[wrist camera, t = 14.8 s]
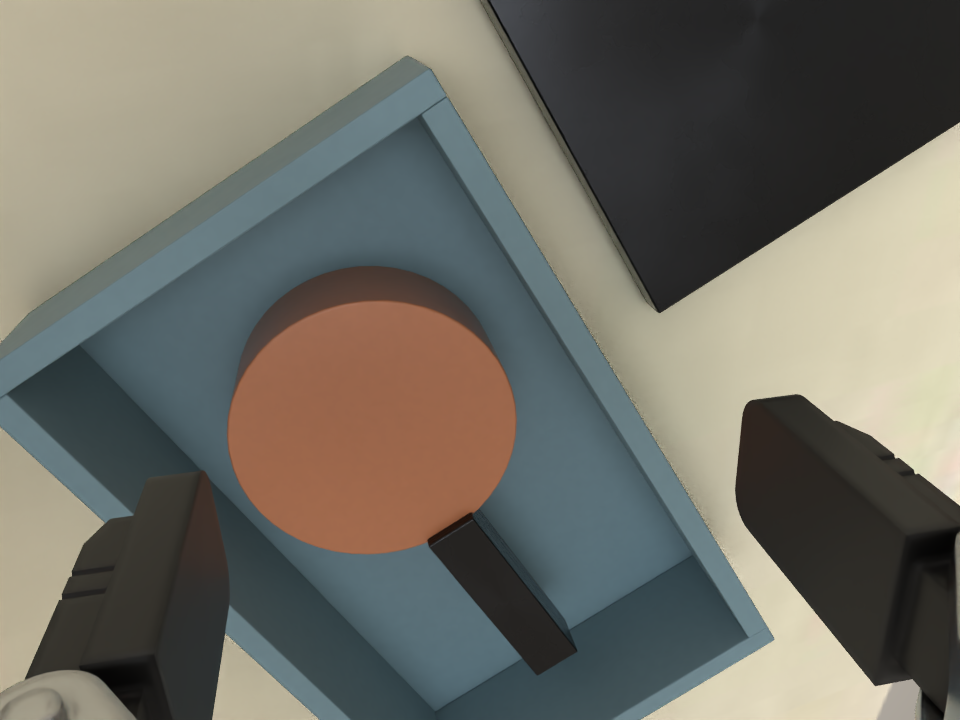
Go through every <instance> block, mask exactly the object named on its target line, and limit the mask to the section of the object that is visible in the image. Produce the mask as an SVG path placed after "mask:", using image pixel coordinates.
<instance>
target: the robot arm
mask: <svg viewBox="0 0 960 720" xmlns="http://www.w3.org/2000/svg"><path fill="white" fill-rule="evenodd" d="M735 493H736V502H737V507H738V510H739V513H740V516H741V518H742V521H743V523H744V524H745V526H746V528H747V529H748V530H749V531H750V533H751V534H752V535H753V536H754V538H755V539H756V540H757V541H758V543H759V544H760V545H761V546H762V547H763V549H764V550H765V551H766V552H767V554H768V555H769V556H770V557H771V559H772V560H773V561H774V562H775V563H776V565H777V566H778V567H779V568H780V570H781V571H782V572H783V573H784V575H785V576H786V577H787V578H788V579H789V581H790V582H791V583H792V584H793V586H794V587H795V588H796V589H797V591H798V592H799V593H800V594H801V595H802V597H803V598H804V599H805V600H806V602H807V603H808V604H809V605H810V607H811V608H812V609H813V610H814V611H815V613H816V614H817V615H818V616H819V618H820V619H821V620H822V621H823V623H824V624H825V625H826V626H827V627H828V629H829V630H830V631H831V632H832V634H833V635H834V636H835V637H836V639H837V640H838V641H839V642H840V643H841V645H842V646H843V647H844V648H845V650H846V651H847V652H848V653H849V655H850V656H851V657H852V658H853V659H854V661H855V662H856V663H857V664H858V666H859V667H860V668H861V669H862V671H863V672H864V673H865V674H866V675H867V677H868V678H869V679H870V680H871V682H872V683H873V684H874V685H875V686H878V685H884V684H889V683H894V682H899V681H905V680H910V679H913V680H914V681H915V682H916V684H917V685H918V686H919V687H920V690H919V694H918V699H917V703H916V708H915V720H960V506H959V505H958V504H957V503H955V502H954V501H953V500H952V499H950V498H949V497H948V496H947V495H945V494H944V493H943V492H941V491H940V490H939V489H938V488H936V487H935V486H934V485H933V484H931V483H930V482H929V481H927V480H926V479H925V478H924V477H922V476H921V475H920V474H915V473H914V470H913V469H912V468H911V467H910V466H908V465H907V464H906V463H905V462H903V461H902V460H901V459H900V458H896V459H895V457H894V454H893V453H892V452H891V451H889V450H888V449H887V448H886V447H884V446H883V445H882V444H880V443H879V442H878V441H877V440H875V439H874V438H873V437H872V436H870V435H868V434H866V433H863V432H861V431H859V430H857V429H854V428H852V427H850V426H848V425H845V424H843V423H841V422H838V421H833V420H832V419H831V418H829V417H828V416H827V415H826V414H824V413H823V412H822V411H821V410H820V409H818V408H817V407H816V406H815V405H813V404H812V403H811V402H810V401H808V400H807V399H806V398H805V397H803V396H801V395H798V394H795V395H787V396H780V397H772V398H764V399H757V400H751V401H749V402H748V403H747V404H746V406H745V408H744V411H743V416H742V425H741V435H740V445H739V456H738V466H737V476H736V487H735ZM229 601H230V583H229V571H228V564H227V559H226V554H225V549H224V545H223V540H222V535H221V531H220V526H219V521H218V517H217V512H216V508H215V503H214V498H213V494H212V489H211V485H210V481H209V478H208V476H207V474H206V472H205V471H203V470H202V471H194V472H187V473H179V474H171V475H164V476H156V477H150V478H148V479H147V480H146V483H145V485H144V488H143V491H142V493H141V496H140V499H139V502H138V504H137V507H136V510H135V512H134V515H133V516H126V517H119V518H112V519H109V520H108V521H107V522H106V523H105V524H104V525H103V526H102V527H101V528H100V529H99V530H98V531H97V532H96V533H95V534H94V535H93V536H92V537H91V538H90V539H89V540H88V541H87V542H86V543H84V545H83V547H82V549H81V552H80V554H79V556H78V558H77V561H76V563H75V565H74V568H73V570H72V577H69V579H68V581H67V584H66V586H65V588H64V590H63V593H62V600H59V602H58V604H57V606H56V609H55V611H54V613H53V616H52V618H51V620H50V622H49V625H48V627H47V629H46V632H45V634H44V636H43V638H42V641H41V643H40V645H39V648H38V650H37V652H36V654H35V657H34V659H33V661H32V664H31V666H30V668H29V670H28V673H27V675H26V677H25V680H24V681H21V682H19V683H17V684H15V685H13V686H11V687H9V688H7V689H6V690H4V691H3V692H1V693H0V720H212V716H213V709H214V703H215V696H216V690H217V683H218V676H219V670H220V663H221V657H222V650H223V643H224V637H225V630H226V624H227V617H228V610H229Z"/></svg>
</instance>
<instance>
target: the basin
mask: <svg viewBox="0 0 960 720" xmlns="http://www.w3.org/2000/svg"><path fill="white" fill-rule="evenodd" d="M358 266H382V267H391V268H397V269H402V270H406V271H410V272H413V273H416V274H419V275H421V276H424V277H426V278H429V279H431V280H433V281H434V282H436V283H438V284H440V285H442V286H444V287H445V288H446V289H448V290H449V291H451V292H452V293H453V294H455V295H456V296H457V297H458V298H459V299H460V300H461V301H462V302H463V303H465V304H466V305H467V306H468V307H469V309H470V310H471V311H472V312H473V314H474V315H475V316H476V318H477V319H478V320H479V322H480V324H481V325H482V327H483V329H484V331H485V332H486V334H487V336H488V338H489V340H490V342H491V344H492V346H493V348H494V350H495V352H496V354H497V356H498V358H499V360H500V362H501V364H502V366H503V368H504V370H505V372H506V375H507V377H508V380H509V382H510V385H511V387H512V391H513V395H514V399H515V404H516V416H517V426H516V438H515V443H514V447H513V452H512V455H511V458H510V461H509V463H508V466H507V469H506V471H505V472H504V474H503V476H502V478H501V480H500V482H499V484H498V485H497V487H496V488H495V490H494V491H493V492H492V494H491V495H490V497H489V498H488V499H487V500H486V501H485V502H484V503H483V505H482V506H481V507H480V508H479V509H480V510H481V511H482V513H483V514H484V515H485V516H486V518H487V519H488V520H489V522H490V523H491V524H492V525H493V527H494V528H495V529H496V531H497V532H498V533H499V534H500V536H501V537H502V538H503V540H504V541H505V542H506V544H507V545H508V546H509V547H510V549H511V550H512V551H513V553H514V554H515V555H516V556H517V558H518V559H519V560H520V562H521V563H522V564H523V565H524V567H525V568H526V569H527V571H528V572H529V573H530V574H531V576H532V577H533V578H534V580H535V581H536V582H537V583H538V585H539V586H540V587H541V589H542V590H543V591H544V593H545V594H546V595H547V596H548V598H549V599H550V600H551V602H552V603H553V604H554V605H555V607H556V608H557V609H558V611H559V612H560V613H561V614H562V616H563V617H564V618H565V620H566V623H567V625H568V628H569V630H570V633H571V635H572V638H573V641H574V643H575V646H576V648H577V652H576V653H575V654H573V655H571V656H570V657H568V658H566V659H565V660H563V661H561V662H560V663H558V664H557V665H555V666H553V667H552V668H550V669H548V670H547V671H545V672H543V673H542V674H540V675H538V676H537V675H536V674H535V673H534V672H533V670H532V669H531V668H530V667H529V666H528V664H527V663H526V662H525V661H524V660H523V659H522V657H521V656H520V655H519V654H518V653H517V651H516V650H515V649H514V648H513V647H512V645H511V644H510V643H509V642H508V641H507V639H506V638H505V637H504V636H503V635H502V634H501V632H500V631H499V630H498V629H497V628H496V626H495V625H494V624H493V623H492V622H491V620H490V619H489V618H488V617H487V616H486V615H485V613H484V612H483V611H482V610H481V609H480V607H479V606H478V605H477V604H476V603H475V601H474V600H473V599H472V598H471V597H470V596H469V594H468V593H467V592H466V591H465V590H464V588H463V587H462V586H461V585H460V584H459V582H458V581H457V580H456V579H455V578H454V577H453V575H452V574H451V573H450V572H449V571H448V569H447V568H446V567H445V566H444V565H443V563H442V562H441V561H440V560H439V559H438V558H437V556H436V555H435V554H434V553H433V552H432V550H431V549H430V548H429V546H428V542H427V543H424V544H422V545H419V546H416V547H412V548H409V549H405V550H401V551H395V552H390V553H381V554H349V553H342V552H334V551H330V550H327V549H323V548H319V547H316V546H313V545H310V544H308V543H305V542H303V541H300V540H298V539H297V538H295V537H293V536H291V535H289V534H287V533H285V532H284V531H282V530H281V529H280V528H278V527H277V526H275V525H274V524H272V523H271V522H270V521H269V520H268V519H267V518H266V517H265V516H264V515H262V514H261V513H260V512H259V511H258V509H257V508H256V507H255V506H254V505H253V503H252V502H251V501H250V500H249V499H248V497H247V495H246V494H245V492H244V491H243V489H242V487H241V486H240V484H239V482H238V480H237V477H236V475H235V473H234V470H233V468H232V464H231V460H230V456H229V452H228V443H227V421H228V414H229V409H230V404H231V400H232V395H233V391H234V386H235V382H236V377H237V373H238V369H239V364H240V360H241V355H242V353H243V350H244V347H245V345H246V342H247V340H248V338H249V336H250V334H251V333H252V331H253V329H254V327H255V325H256V324H257V323H258V322H259V320H260V319H261V318H262V316H263V315H264V314H265V312H266V311H267V310H268V309H269V308H270V307H271V306H272V305H273V304H274V303H275V302H276V301H277V300H278V299H280V298H281V297H282V296H284V295H285V294H286V293H288V292H289V291H290V290H292V289H293V288H295V287H297V286H298V285H300V284H302V283H304V282H305V281H307V280H310V279H312V278H314V277H317V276H319V275H322V274H324V273H328V272H332V271H335V270H339V269H344V268H351V267H358ZM0 427H1V428H2V429H4V430H5V431H6V432H7V433H8V434H9V435H10V436H11V437H12V438H13V439H14V440H15V441H17V442H18V443H19V444H20V445H21V446H22V447H23V448H24V449H25V450H26V451H27V452H29V453H30V454H31V455H32V456H33V457H34V458H35V459H36V460H37V461H38V462H39V463H41V464H42V465H43V466H44V467H45V468H46V469H47V470H48V471H49V472H50V473H51V474H53V475H54V476H55V477H56V478H57V479H58V480H59V481H60V482H61V483H62V484H63V485H65V486H66V487H67V488H68V489H69V490H70V491H71V492H72V493H73V494H74V495H75V496H77V497H78V498H79V499H80V500H81V501H82V502H83V503H84V504H85V505H86V506H87V507H88V508H90V509H91V510H92V511H93V512H94V513H95V514H96V515H97V516H98V517H99V518H100V519H102V520H103V521H104V522H105V523H106V522H107V521H108V520H109V519H112V518H119V517H126V516H133V515H134V512H135V510H136V507H137V504H138V502H139V499H140V496H141V493H142V491H143V488H144V485H145V483H146V480H147V479H148V478H150V477H156V476H164V475H171V474H179V473H187V472H194V471H202V470H203V471H205V472H206V474H207V476H208V478H209V481H210V485H211V489H212V494H213V498H214V503H215V508H216V512H217V517H218V521H219V526H220V531H221V535H222V540H223V545H224V549H225V554H226V559H227V564H228V571H229V583H230V601H229V610H228V617H227V624H226V630H225V633H226V634H227V635H228V636H229V637H230V638H231V639H232V640H233V641H234V642H236V643H237V644H238V645H239V646H240V647H241V648H242V649H243V650H244V651H245V652H246V653H248V654H249V655H250V656H251V657H252V658H253V659H254V660H255V661H256V662H257V663H258V664H260V665H261V666H262V667H263V668H264V669H265V670H266V671H267V672H268V673H269V674H270V675H272V676H273V677H274V678H275V679H276V680H277V681H278V682H279V683H280V684H281V685H282V686H284V687H285V688H286V689H287V690H288V691H289V692H290V693H291V694H292V695H293V696H294V697H295V698H297V699H298V700H299V701H300V702H301V703H302V704H303V705H304V706H305V707H306V708H307V709H309V710H310V711H311V712H312V713H313V714H314V715H315V716H316V717H317V718H318V719H319V720H641V719H642V718H644V717H646V716H647V715H649V714H651V713H652V712H654V711H656V710H657V709H659V708H661V707H662V706H664V705H666V704H668V703H669V702H671V701H673V700H674V699H676V698H678V697H679V696H681V695H683V694H684V693H686V692H688V691H689V690H691V689H693V688H694V687H696V686H698V685H699V684H701V683H703V682H705V681H706V680H708V679H710V678H711V677H713V676H715V675H716V674H718V673H720V672H721V671H723V670H725V669H726V668H728V667H730V666H731V665H733V664H735V663H736V662H738V661H740V660H742V659H743V658H745V657H747V656H748V655H750V654H752V653H753V652H755V651H757V650H758V649H760V648H762V647H763V646H765V645H767V644H768V643H770V642H772V641H773V640H774V637H773V635H772V634H771V632H770V630H769V629H768V627H767V625H766V624H765V622H764V620H763V619H762V617H761V615H760V614H759V612H758V610H757V609H756V607H755V605H754V604H753V602H752V600H751V599H750V597H749V595H748V594H747V592H746V590H745V589H744V587H743V585H742V584H741V582H740V580H739V579H738V577H737V575H736V574H735V572H734V570H733V569H732V567H731V566H730V564H729V562H728V561H727V559H726V557H725V556H724V554H723V552H722V551H721V549H720V547H719V546H718V544H717V542H716V541H715V539H714V537H713V536H712V534H711V532H710V531H709V529H708V527H707V526H706V524H705V522H704V521H703V519H702V517H701V516H700V514H699V512H698V511H697V509H696V507H695V506H694V504H693V503H692V501H691V499H690V498H689V496H688V494H687V493H686V491H685V489H684V488H683V486H682V484H681V483H680V481H679V479H678V478H677V476H676V474H675V473H674V471H673V469H672V468H671V466H670V464H669V463H668V461H667V459H666V458H665V456H664V454H663V453H662V451H661V449H660V448H659V446H658V445H657V443H656V441H655V440H654V438H653V436H652V435H651V433H650V431H649V430H648V428H647V426H646V425H645V423H644V421H643V420H642V418H641V416H640V415H639V413H638V411H637V410H636V408H635V406H634V405H633V403H632V401H631V400H630V398H629V396H628V395H627V393H626V391H625V390H624V388H623V387H622V385H621V383H620V382H619V380H618V378H617V377H616V375H615V373H614V372H613V370H612V368H611V367H610V365H609V363H608V362H607V360H606V358H605V357H604V355H603V353H602V352H601V350H600V348H599V347H598V345H597V343H596V342H595V340H594V338H593V337H592V335H591V333H590V332H589V330H588V329H587V327H586V325H585V324H584V322H583V320H582V319H581V317H580V315H579V314H578V312H577V310H576V309H575V307H574V305H573V304H572V302H571V300H570V299H569V297H568V295H567V294H566V292H565V290H564V289H563V287H562V285H561V284H560V282H559V280H558V279H557V277H556V275H555V274H554V272H553V271H552V269H551V267H550V266H549V264H548V262H547V261H546V259H545V257H544V256H543V254H542V252H541V251H540V249H539V247H538V246H537V244H536V242H535V241H534V239H533V237H532V236H531V234H530V232H529V231H528V229H527V227H526V226H525V224H524V222H523V221H522V219H521V217H520V216H519V214H518V213H517V211H516V209H515V208H514V206H513V204H512V203H511V201H510V199H509V198H508V196H507V194H506V193H505V191H504V189H503V188H502V186H501V184H500V183H499V181H498V179H497V178H496V176H495V174H494V173H493V171H492V169H491V168H490V166H489V164H488V163H487V161H486V159H485V158H484V156H483V154H482V153H481V151H480V150H479V148H478V146H477V145H476V143H475V141H474V140H473V138H472V136H471V135H470V133H469V131H468V130H467V128H466V126H465V125H464V123H463V121H462V120H461V118H460V116H459V115H458V113H457V111H456V110H455V108H454V106H453V105H452V103H451V101H450V100H449V98H448V97H446V93H445V92H444V90H443V88H442V87H441V85H440V83H439V82H438V80H437V78H436V77H435V75H434V73H433V72H432V70H431V69H430V68H428V67H427V66H425V65H423V64H422V63H420V62H418V61H417V60H415V59H413V58H412V57H409V56H405V57H404V58H402V59H401V60H400V61H398V62H397V63H395V64H394V65H392V66H391V67H389V68H388V69H386V70H385V71H383V72H382V73H380V74H379V75H378V76H376V77H375V78H373V79H372V80H370V81H369V82H367V83H366V84H364V85H363V86H361V87H360V88H358V89H357V90H356V91H354V92H353V93H351V94H350V95H348V96H347V97H345V98H344V99H342V100H341V101H339V102H338V103H336V104H335V105H334V106H332V107H331V108H329V109H328V110H326V111H325V112H323V113H322V114H320V115H319V116H317V117H316V118H314V119H313V120H312V121H310V122H309V123H307V124H306V125H304V126H303V127H301V128H300V129H298V130H297V131H295V132H294V133H292V134H291V135H290V136H288V137H287V138H285V139H284V140H282V141H281V142H279V143H278V144H276V145H275V146H273V147H272V148H270V149H269V150H268V151H266V152H265V153H263V154H262V155H260V156H259V157H257V158H256V159H254V160H253V161H251V162H250V163H248V164H247V165H246V166H244V167H243V168H241V169H240V170H238V171H237V172H235V173H234V174H232V175H231V176H229V177H228V178H226V179H225V180H224V181H222V182H221V183H219V184H218V185H216V186H215V187H213V188H212V189H210V190H209V191H207V192H206V193H204V194H203V195H202V196H200V197H199V198H197V199H196V200H194V201H193V202H191V203H190V204H188V205H187V206H185V207H184V208H182V209H181V210H180V211H178V212H177V213H175V214H174V215H172V216H171V217H169V218H168V219H166V220H165V221H163V222H162V223H160V224H159V225H158V226H156V227H155V228H153V229H152V230H150V231H149V232H147V233H146V234H144V235H143V236H141V237H140V238H138V239H137V240H136V241H134V242H133V243H131V244H130V245H128V246H127V247H125V248H124V249H122V250H121V251H119V252H118V253H116V254H115V255H114V256H112V257H111V258H109V259H108V260H106V261H105V262H103V263H102V264H100V265H99V266H97V267H96V268H94V269H93V270H92V271H90V272H89V273H87V274H86V275H84V276H83V277H81V278H80V279H78V280H77V281H75V282H74V283H72V284H71V285H70V286H68V287H67V288H65V289H64V290H62V291H61V292H59V293H58V294H56V295H55V296H53V297H52V298H50V299H49V300H48V301H46V302H45V303H43V304H42V305H40V306H39V307H37V308H36V309H34V310H33V311H31V312H30V313H29V314H28V315H27V316H26V317H25V318H24V319H23V320H22V321H21V322H20V323H19V324H18V325H17V326H16V327H15V328H14V330H13V331H12V332H11V333H10V334H9V335H8V336H7V337H6V338H5V339H4V340H3V341H2V342H1V343H0Z"/></svg>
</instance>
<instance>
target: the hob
mask: <svg viewBox="0 0 960 720" xmlns="http://www.w3.org/2000/svg"><path fill="white" fill-rule="evenodd" d="M480 1H481V3H482V4H483V6H484V8H485V10H486V12H487V14H488V15H489V17H490V19H491V21H492V23H493V24H494V26H495V28H496V30H497V32H498V33H499V35H500V37H501V39H502V41H503V43H504V44H505V46H506V48H507V50H508V52H509V53H510V55H511V57H512V59H513V61H514V62H515V64H516V66H517V68H518V70H519V72H520V73H521V75H522V77H523V79H524V81H525V82H526V84H527V86H528V88H529V90H530V91H531V93H532V95H533V97H534V99H535V101H536V102H537V104H538V106H539V108H540V110H541V111H542V113H543V115H544V117H545V119H546V120H547V122H548V124H549V126H550V128H551V130H552V131H553V133H554V135H555V137H556V139H557V140H558V142H559V144H560V146H561V148H562V149H563V151H564V153H565V155H566V157H567V159H568V160H569V162H570V164H571V166H572V168H573V169H574V171H575V173H576V175H577V177H578V178H579V180H580V182H581V184H582V186H583V188H584V189H585V191H586V193H587V195H588V197H589V198H590V200H591V202H592V204H593V206H594V207H595V209H596V211H597V213H598V215H599V217H600V218H601V220H602V222H603V224H604V226H605V227H606V229H607V231H608V233H609V235H610V236H611V238H612V240H613V242H614V244H615V246H616V247H617V249H618V251H619V253H620V255H621V256H622V258H623V260H624V262H625V264H626V265H627V267H628V269H629V271H630V273H631V275H632V276H633V278H634V280H635V282H636V284H637V285H638V287H639V289H640V291H641V293H642V294H643V296H644V298H645V300H646V302H647V303H648V304H649V305H650V306H651V307H653V308H654V309H655V310H656V311H657V312H658V313H661V312H662V311H664V310H666V309H667V308H669V307H670V306H672V305H673V304H675V303H677V302H678V301H680V300H681V299H683V298H684V297H686V296H688V295H689V294H691V293H692V292H694V291H695V290H697V289H699V288H700V287H702V286H703V285H705V284H706V283H708V282H710V281H711V280H713V279H714V278H716V277H717V276H719V275H721V274H722V273H724V272H725V271H727V270H728V269H730V268H732V267H733V266H735V265H736V264H738V263H739V262H741V261H743V260H744V259H746V258H747V257H749V256H750V255H752V254H754V253H755V252H757V251H758V250H760V249H761V248H763V247H765V246H766V245H768V244H769V243H771V242H772V241H774V240H776V239H777V238H779V237H780V236H782V235H783V234H785V233H787V232H788V231H790V230H791V229H793V228H794V227H796V226H798V225H799V224H801V223H802V222H804V221H805V220H807V219H809V218H810V217H812V216H813V215H815V214H816V213H818V212H820V211H821V210H823V209H824V208H826V207H827V206H829V205H831V204H832V203H834V202H835V201H837V200H838V199H840V198H842V197H843V196H845V195H846V194H848V193H849V192H851V191H853V190H854V189H856V188H857V187H859V186H860V185H862V184H864V183H865V182H867V181H868V180H870V179H871V178H873V177H875V176H876V175H878V174H879V173H881V172H882V171H884V170H886V169H887V168H889V167H890V166H892V165H893V164H895V163H897V162H898V161H900V160H901V159H903V158H904V157H906V156H908V155H909V154H911V153H912V152H914V151H915V150H917V149H919V148H920V147H922V146H923V145H925V144H926V143H928V142H930V141H931V140H933V139H934V138H936V137H937V136H939V135H941V134H942V133H944V132H945V131H947V130H948V129H950V128H952V127H953V126H955V125H956V124H958V123H959V122H960V0H480Z"/></svg>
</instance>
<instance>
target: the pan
mask: <svg viewBox="0 0 960 720" xmlns="http://www.w3.org/2000/svg"><path fill="white" fill-rule="evenodd" d="M516 426H517V416H516V404H515V399H514V395H513V391H512V387H511V385H510V382H509V380H508V377H507V375H506V372H505V370H504V368H503V366H502V364H501V362H500V360H499V358H498V356H497V354H496V352H495V350H494V348H493V346H492V344H491V342H490V340H489V338H488V336H487V334H486V332H485V331H484V329H483V327H482V325H481V324H480V322H479V320H478V319H477V318H476V316H475V315H474V314H473V312H472V311H471V310H470V309H469V307H468V306H467V305H466V304H465V303H463V302H462V301H461V300H460V299H459V298H458V297H457V296H456V295H455V294H453V293H452V292H451V291H449V290H448V289H446V288H445V287H444V286H442V285H440V284H438V283H436V282H434V281H433V280H431V279H429V278H426V277H424V276H421V275H419V274H416V273H413V272H410V271H406V270H402V269H397V268H391V267H382V266H358V267H351V268H344V269H339V270H335V271H332V272H328V273H324V274H322V275H319V276H317V277H314V278H312V279H310V280H307V281H305V282H304V283H302V284H300V285H298V286H297V287H295V288H293V289H292V290H290V291H289V292H288V293H286V294H285V295H284V296H282V297H281V298H280V299H278V300H277V301H276V302H275V303H274V304H273V305H272V306H271V307H270V308H269V309H268V310H267V311H266V312H265V314H264V315H263V316H262V318H261V319H260V320H259V322H258V323H257V324H256V325H255V327H254V329H253V331H252V333H251V334H250V336H249V338H248V340H247V342H246V345H245V347H244V350H243V353H242V355H241V360H240V364H239V369H238V373H237V377H236V382H235V386H234V391H233V395H232V400H231V404H230V409H229V414H228V421H227V443H228V452H229V456H230V460H231V464H232V468H233V470H234V473H235V475H236V477H237V480H238V482H239V484H240V486H241V487H242V489H243V491H244V492H245V494H246V495H247V497H248V499H249V500H250V501H251V502H252V503H253V505H254V506H255V507H256V508H257V509H258V511H259V512H260V513H261V514H262V515H264V516H265V517H266V518H267V519H268V520H269V521H270V522H271V523H272V524H274V525H275V526H277V527H278V528H280V529H281V530H282V531H284V532H285V533H287V534H289V535H291V536H293V537H295V538H297V539H298V540H300V541H303V542H305V543H308V544H310V545H313V546H316V547H319V548H323V549H327V550H330V551H334V552H342V553H349V554H381V553H390V552H395V551H401V550H405V549H409V548H412V547H416V546H419V545H422V544H424V543H427V542H428V546H429V548H430V549H431V550H432V552H433V553H434V554H435V555H436V556H437V558H438V559H439V560H440V561H441V562H442V563H443V565H444V566H445V567H446V568H447V569H448V571H449V572H450V573H451V574H452V575H453V577H454V578H455V579H456V580H457V581H458V582H459V584H460V585H461V586H462V587H463V588H464V590H465V591H466V592H467V593H468V594H469V596H470V597H471V598H472V599H473V600H474V601H475V603H476V604H477V605H478V606H479V607H480V609H481V610H482V611H483V612H484V613H485V615H486V616H487V617H488V618H489V619H490V620H491V622H492V623H493V624H494V625H495V626H496V628H497V629H498V630H499V631H500V632H501V634H502V635H503V636H504V637H505V638H506V639H507V641H508V642H509V643H510V644H511V645H512V647H513V648H514V649H515V650H516V651H517V653H518V654H519V655H520V656H521V657H522V659H523V660H524V661H525V662H526V663H527V664H528V666H529V667H530V668H531V669H532V670H533V672H534V673H535V674H536V675H537V676H538V675H540V674H542V673H543V672H545V671H547V670H548V669H550V668H552V667H553V666H555V665H557V664H558V663H560V662H561V661H563V660H565V659H566V658H568V657H570V656H571V655H573V654H575V653H576V652H577V648H576V646H575V643H574V641H573V638H572V635H571V633H570V630H569V628H568V625H567V623H566V620H565V618H564V617H563V616H562V614H561V613H560V612H559V611H558V609H557V608H556V607H555V605H554V604H553V603H552V602H551V600H550V599H549V598H548V596H547V595H546V594H545V593H544V591H543V590H542V589H541V587H540V586H539V585H538V583H537V582H536V581H535V580H534V578H533V577H532V576H531V574H530V573H529V572H528V571H527V569H526V568H525V567H524V565H523V564H522V563H521V562H520V560H519V559H518V558H517V556H516V555H515V554H514V553H513V551H512V550H511V549H510V547H509V546H508V545H507V544H506V542H505V541H504V540H503V538H502V537H501V536H500V534H499V533H498V532H497V531H496V529H495V528H494V527H493V525H492V524H491V523H490V522H489V520H488V519H487V518H486V516H485V515H484V514H483V513H482V511H481V510H480V509H479V508H480V507H481V506H482V505H483V503H484V502H485V501H486V500H487V499H488V498H489V497H490V495H491V494H492V492H493V491H494V490H495V488H496V487H497V485H498V484H499V482H500V480H501V478H502V476H503V474H504V472H505V471H506V469H507V466H508V463H509V461H510V458H511V455H512V452H513V447H514V443H515V438H516Z"/></svg>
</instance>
